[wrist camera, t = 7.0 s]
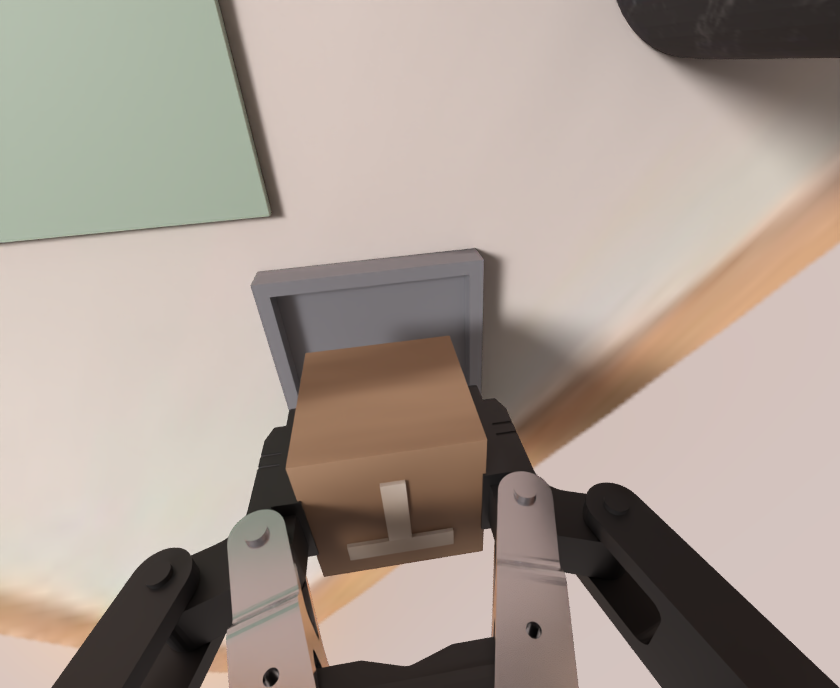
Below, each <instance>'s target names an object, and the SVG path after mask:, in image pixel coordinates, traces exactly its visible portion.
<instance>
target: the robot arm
mask: <svg viewBox="0 0 840 688" xmlns="http://www.w3.org/2000/svg"><path fill="white" fill-rule="evenodd" d="M468 388H469V391H470V394H471V396H472V399H473V402H474V405H475V407H476V410H477V413H478V416H479V418H480V421H481V424H482V427H483V430H484V432H485V435H486V438H487V456H486V473H484V474H483V478H482V508H481V530H482V529H488V528H491V530H492V533H493V537H494V540H495V545H494V574H493V610H492V634H491V636H492V637H490V638H484V639H479V640H473V641H468V642H462V643H456V644H452V645H450V646H448V647H446V648H444V649H442V650H440V651H438V652H436V653H434V654H432V655H431V656H429V657H427V658H425V659H423V660H421V661H419V662H417V663H415V664H413V665H411V666H398V665H391V664H390V665H389V664H383V663H375V662H368V661H356V662H351V663H345V664H340V665H334V666H329V664H328V661H327V658H326V654H325V651H324V647H323V644H322V639H321V635H320V631H319V627H318V622H317V618H316V614H315V609H314V605H313V601H312V597H311V592H310V588H309V584H308V579H307V577H306V570H307V560H308V557H309V556H315V555H319V552H318V549H317V546H316V543H315V541H314V538H313V535H312V532H311V529H310V526H309V523H308V520H307V518H306V515H305V512H304V509H303V506H302V503H301V501H297V499H296V496H295V494H294V491H293V488H292V485H291V482H290V480H289V477H288V474H287V471H286V463H287V457H288V451H289V446H290V440H291V434H292V428H293V423H294V417H295V411H296V408H294V409H290V411H289V415H288V420H287V425H286V426H283V427H276V428H274V429H273V430H272V432H271V433H270V434H269V436H268V437H267V438H266V440H265V441H264V445H263V450H262V454H261V458H260V462H259V466H258V467H259V469H258V470H257V474H256V478H255V482H254V487H253V491H252V495H251V499H250V503H249V507H248V511H247V514H246V516H245V517H244V518H242V519H241V520H240V521H239V522H238V523H237V524H236V525H235V526H234V528H233V529H232V531H231V532H230V535H229V537H228V538H227V539H225V540H224V541H222V542H220V543H218V544H216V545H214V546H212V547H209V548H207V549H205V550H203V551H200V552H198V553H196V554H194V555H190V554H189V553H188V552H187V551H186V550H184V549H182V548H168V549H165V550H162V551H160V552H157V553H156V554H154V555H152V556H151V557H149V558H148V559H146V560H145V561H144V562H143V563H142V564H141V565H140V566H139V567H138V568H137V569H136V570H135V572H134V573H133V574H132V576H131V577H130V578H129V580H128V581H127V583H126V584H125V585H124V587H123V588H122V590H121V591H120V592H119V594H118V595H117V597H116V598H115V599H114V601H113V602H112V604H111V605H110V606H109V608H108V609H107V611H106V612H105V613H104V615H103V616H102V618H101V619H100V620H99V622H98V623H97V625H96V626H95V627H94V629H93V630H92V632H91V633H90V634H89V636H88V637H87V639H86V640H85V641H84V643H83V644H82V646H81V647H80V648H79V650H78V651H77V653H76V654H75V655H74V657H73V658H72V660H71V661H70V663H69V664H68V666H67V667H66V668H65V669H64V671H63V672H62V674H61V675H60V677H59V678H58V679H57V681H56V682H55V684H54V685H53V686H52V688H200V687H201V684H202V683H203V681H204V678H205V676H206V674H207V672H208V670H209V668H210V666H211V664H212V662H213V660H214V657H215V655H216V653H217V651H218V649H219V647H220V645H221V643H222V641H223V639H224V636H225V634H226V633H227V635H226V645H227V661H228V678H229V688H579V687H578V679H577V669H576V660H575V651H574V642H573V634H572V625H571V616H570V607H569V598H568V590H567V581H566V576H565V572H566V573H571V574H576V575H577V577H578V578H579V579H580V580H581V582H582V583H583V584H584V586H585V587H586V589H587V590H588V591H589V592H590V594H591V595H592V596H593V598H594V599H595V600H596V601H597V603H598V604H599V606H600V607H601V608H602V610H603V611H604V612H605V613H606V615H607V616H608V617H609V619H610V620H611V621H612V623H613V624H614V625H615V627H616V628H617V629H618V631H619V632H620V633H621V634H622V636H623V637H624V638H625V640H626V641H627V642H628V644H629V645H630V646H631V648H632V649H633V650H634V652H635V653H636V654H637V656H638V657H639V658H640V660H641V661H642V662H643V664H644V665H645V666H646V667H647V669H648V670H649V671H650V672H651V674H652V675H653V677H654V678H655V679H656V680H657V682H658V683H659V685H660V686H661V687H662V688H839V687H838V686H837V685H836V684H835V683H834V682H833V681H832V680H831V679H830V678H829V677H827V676H826V675H825V674H824V673H823V672H822V671H821V670H820V669H819V668H818V667H817V666H816V665H815V664H814V663H813V662H812V661H811V660H809V659H808V658H807V657H806V656H805V655H804V654H803V653H802V652H801V651H800V650H799V649H798V648H797V647H796V646H795V645H794V644H793V643H792V642H791V641H789V640H788V639H787V638H786V637H785V636H784V635H783V634H782V633H781V632H780V631H779V630H778V629H777V628H776V627H775V626H774V625H773V624H772V623H771V622H770V621H768V620H767V619H766V618H765V617H764V616H763V615H762V614H761V613H760V612H759V611H758V610H757V609H756V608H755V607H754V606H753V605H752V604H751V603H749V602H748V601H747V600H746V599H745V598H744V597H743V596H742V595H741V594H740V593H739V592H738V591H737V590H736V589H734V587H733V586H731V585H730V584H729V583H728V582H727V581H726V580H725V579H724V578H723V577H722V576H721V575H720V574H719V573H718V572H717V571H716V570H715V569H714V568H713V567H711V566H710V565H709V564H708V563H707V562H706V561H705V560H704V559H703V558H702V557H701V556H700V555H699V554H698V553H697V552H696V551H695V550H694V549H693V548H691V547H690V546H689V545H688V544H687V543H686V542H685V541H684V540H683V539H682V538H681V537H680V536H679V535H678V534H677V533H676V532H675V531H674V530H673V529H671V528H670V527H669V526H668V525H667V524H666V523H665V522H664V521H663V520H662V519H661V518H660V517H659V516H658V515H657V514H656V513H655V512H654V511H653V510H651V509H650V508H649V507H648V506H647V505H646V504H645V503H644V502H643V501H642V500H641V499H640V498H639V497H638V496H637V495H636V494H634V493H633V492H632V491H630V490H629V489H627V488H625V487H623V486H621V485H618V484H614V483H599V484H596V485H594V486H593V487H591V488H590V489H589V491H588V492H587V494H583V493H576V492H569V491H563V490H559V489H556V488H553V487H551V486H549V485H548V484H547V483H546V482H545V481H544V480H543V479H542V478H541V477H539V476H537V475H536V473H535V471H534V470H533V467H532V465H531V463H530V461H529V459H528V456H527V454H526V452H525V450H524V447H523V445H522V443H521V441H520V439H519V436H518V434H517V433H516V430H515V427H514V425H513V423H512V422H511V419H510V416H509V414H508V412H507V410H506V408H505V407H504V406H503V405H502V404H501V403H499V402H498V401H497V400H496V399H495V398H493V399H486V400H483V399H482V397H481V394H480V392H479V389H478V387H477V385H470V386H468Z"/></svg>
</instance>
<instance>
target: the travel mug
mask: <svg viewBox="0 0 840 688" xmlns="http://www.w3.org/2000/svg"><path fill="white" fill-rule="evenodd" d="M617 3H618V5H619V7H620V9H621V12H622V14H623V16H624V17H625V19H626V20H627V22H628V23H629V25H630V27H631V28H632V29H633V30H634V31H635V32H636V33H637V35H638V36H639V37H640V38H641V39H643V40H644V41H645V42H646V43H648V44H649V45H650V46H652V47H654V48H656V49H658V50H660V51H661V52H663V53H666V54H669V55H673V56H677V57H686V58H697V59H773V58H840V0H617Z"/></svg>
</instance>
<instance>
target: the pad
mask: <svg viewBox="0 0 840 688" xmlns="http://www.w3.org/2000/svg"><path fill="white" fill-rule="evenodd" d="M271 213H272V212H271V208H270V205H269V201H268V197H267V193H266V189H265V185H264V181H263V177H262V173H261V169H260V165H259V161H258V157H257V153H256V149H255V145H254V141H253V137H252V133H251V129H250V125H249V121H248V117H247V113H246V110H245V106H244V102H243V98H242V94H241V90H240V86H239V82H238V78H237V74H236V70H235V66H234V62H233V58H232V54H231V50H230V46H229V42H228V38H227V34H226V30H225V26H224V22H223V18H222V15H221V11H220V7H219V3H218V0H0V243H3V242H14V241H24V240H34V239H44V238H54V237H64V236H74V235H84V234H94V233H105V232H115V231H125V230H135V229H145V228H155V227H165V226H175V225H186V224H196V223H206V222H216V221H226V220H236V219H246V218H256V217H266V216H270V215H271Z"/></svg>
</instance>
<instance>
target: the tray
mask: <svg viewBox="0 0 840 688" xmlns="http://www.w3.org/2000/svg"><path fill="white" fill-rule="evenodd" d="M483 277H484V259H483V258H482V256H481V255H480V254H479V252H478V251H477V250H476V248H473V249H464V250H455V251H445V252H436V253H427V254H418V255H409V256H399V257H390V258H381V259H372V260H362V261H353V262H344V263H335V264H326V265H316V266H307V267H298V268H289V269H280V270H270V271H261V272H257V274H256V276H255V278H254V280H253V282H252V284H251V289H252V292H253V295H254V298H255V302H256V305H257V308H258V311H259V315H260V318H261V321H262V324H263V328H264V331H265V334H266V337H267V341H268V344H269V347H270V350H271V354H272V357H273V360H274V363H275V367H276V370H277V373H278V376H279V380H280V383H281V386H282V389H283V393H284V396H285V399H286V402H287V406H288V409H289V411H290V409H294V408H296V405H297V400H298V394H299V388H300V382H301V376H302V371H303V365H304V359H305V353H311V352H319V351H327V350H336V349H344V348H352V347H360V346H368V345H376V344H384V343H393V342H401V341H409V340H417V339H425V338H433V337H441V336H450V338H451V341H452V344H453V347H454V349H455V352H456V355H457V358H458V360H459V363H460V366H461V369H462V372H463V374H464V377H465V380H466V383H467V385H468V386H470V385H477V387H478V389H479V392H480V394H481V378H482V328H483Z"/></svg>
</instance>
